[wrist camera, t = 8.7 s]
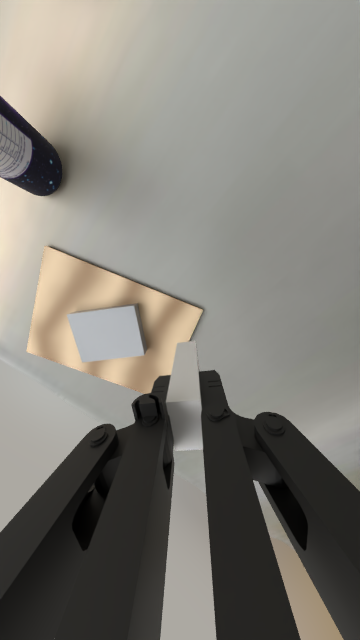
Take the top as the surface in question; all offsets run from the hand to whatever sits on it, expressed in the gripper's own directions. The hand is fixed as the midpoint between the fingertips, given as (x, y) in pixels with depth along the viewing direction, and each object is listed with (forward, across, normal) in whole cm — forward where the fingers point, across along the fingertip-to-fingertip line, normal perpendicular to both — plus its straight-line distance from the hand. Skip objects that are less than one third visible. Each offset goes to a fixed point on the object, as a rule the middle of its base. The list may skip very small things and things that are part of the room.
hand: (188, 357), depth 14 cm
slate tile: (+9, +7, 0) cm, 11 cm away
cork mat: (+11, +12, 0) cm, 16 cm away
